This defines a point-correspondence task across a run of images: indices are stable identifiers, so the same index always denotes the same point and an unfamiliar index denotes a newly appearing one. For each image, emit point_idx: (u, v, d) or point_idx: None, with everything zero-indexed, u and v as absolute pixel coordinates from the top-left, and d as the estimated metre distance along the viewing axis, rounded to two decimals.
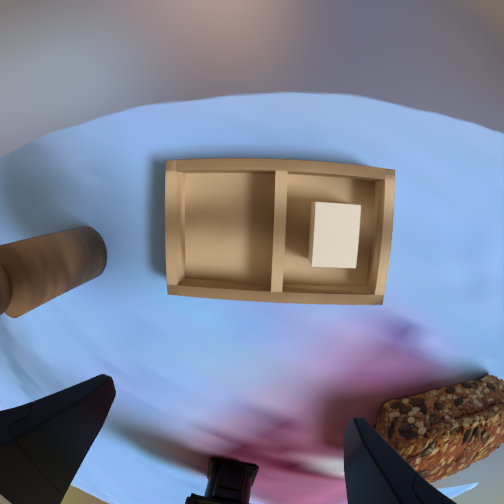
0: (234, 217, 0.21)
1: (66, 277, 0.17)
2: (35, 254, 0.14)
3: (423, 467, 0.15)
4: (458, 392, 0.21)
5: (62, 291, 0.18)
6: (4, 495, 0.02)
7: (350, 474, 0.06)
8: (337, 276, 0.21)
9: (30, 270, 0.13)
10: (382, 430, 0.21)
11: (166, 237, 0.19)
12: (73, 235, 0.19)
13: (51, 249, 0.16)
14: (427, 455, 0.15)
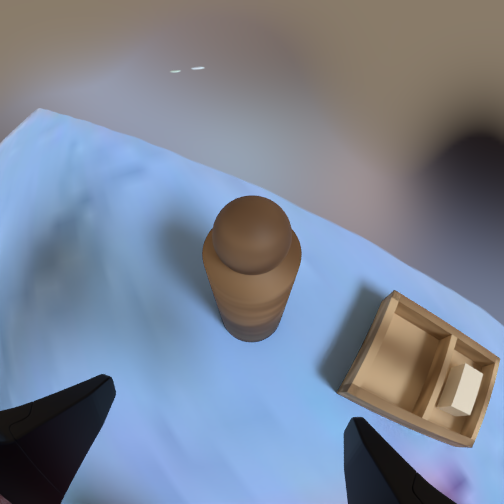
0: (407, 358, 0.21)
1: (278, 314, 0.18)
2: None
3: None
4: None
5: (258, 323, 0.17)
6: (4, 495, 0.02)
7: (350, 474, 0.06)
8: (446, 426, 0.16)
9: None
10: None
11: (372, 344, 0.19)
12: None
13: None
14: None
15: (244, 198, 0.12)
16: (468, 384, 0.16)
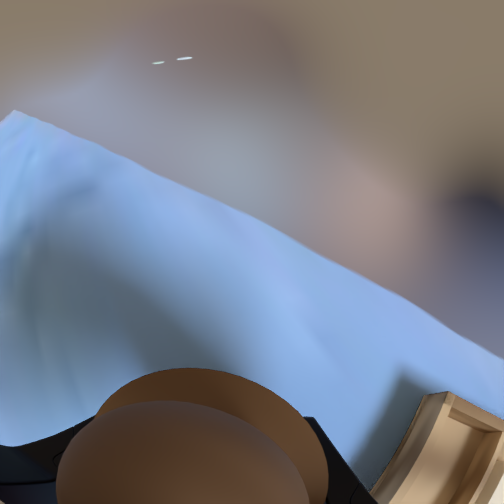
0: (444, 466, 0.10)
1: None
2: None
3: None
4: None
5: None
6: None
7: None
8: None
9: None
10: None
11: (408, 476, 0.09)
12: None
13: None
14: None
15: (108, 480, 0.02)
16: None
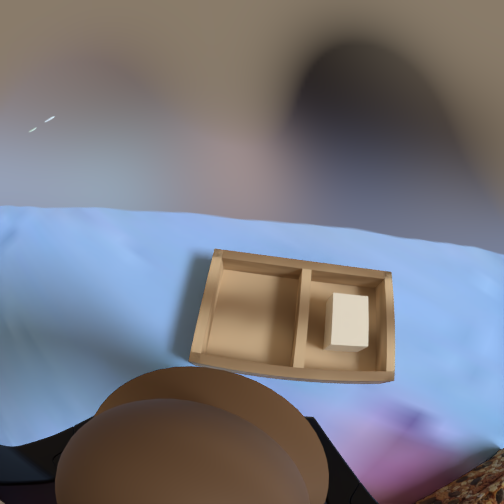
0: (261, 310, 0.23)
1: None
2: None
3: None
4: (472, 476, 0.12)
5: None
6: None
7: None
8: (348, 366, 0.21)
9: None
10: None
11: (201, 308, 0.21)
12: None
13: None
14: None
15: (107, 478, 0.02)
16: (348, 314, 0.21)
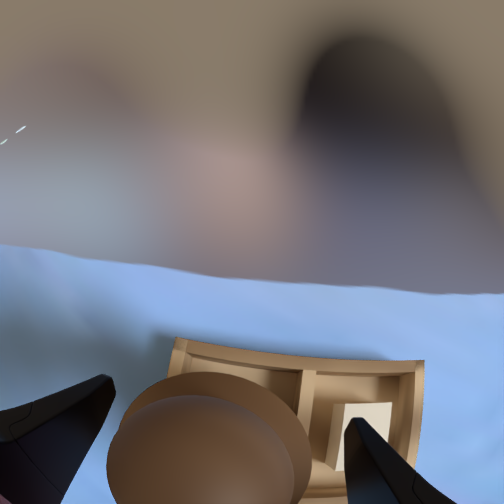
0: None
1: None
2: None
3: None
4: None
5: None
6: (4, 495, 0.02)
7: (350, 474, 0.06)
8: None
9: None
10: None
11: None
12: None
13: None
14: None
15: (158, 448, 0.03)
16: None
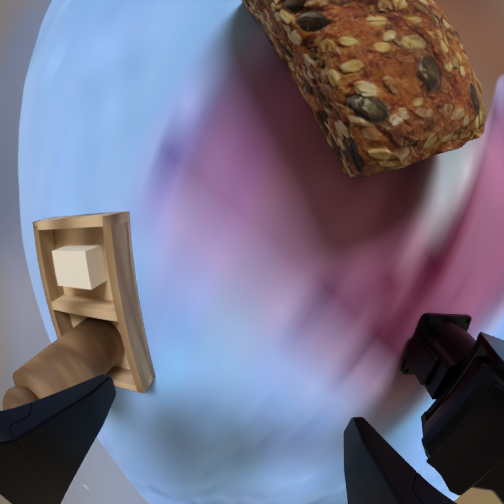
0: None
1: (74, 354, 0.17)
2: (35, 357, 0.14)
3: (412, 87, 0.08)
4: (280, 51, 0.15)
5: (85, 369, 0.17)
6: (4, 495, 0.02)
7: (350, 474, 0.06)
8: None
9: (34, 367, 0.13)
10: None
11: None
12: (68, 331, 0.19)
13: (48, 347, 0.16)
14: (382, 98, 0.09)
15: None
16: (67, 272, 0.19)
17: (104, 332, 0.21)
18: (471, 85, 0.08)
